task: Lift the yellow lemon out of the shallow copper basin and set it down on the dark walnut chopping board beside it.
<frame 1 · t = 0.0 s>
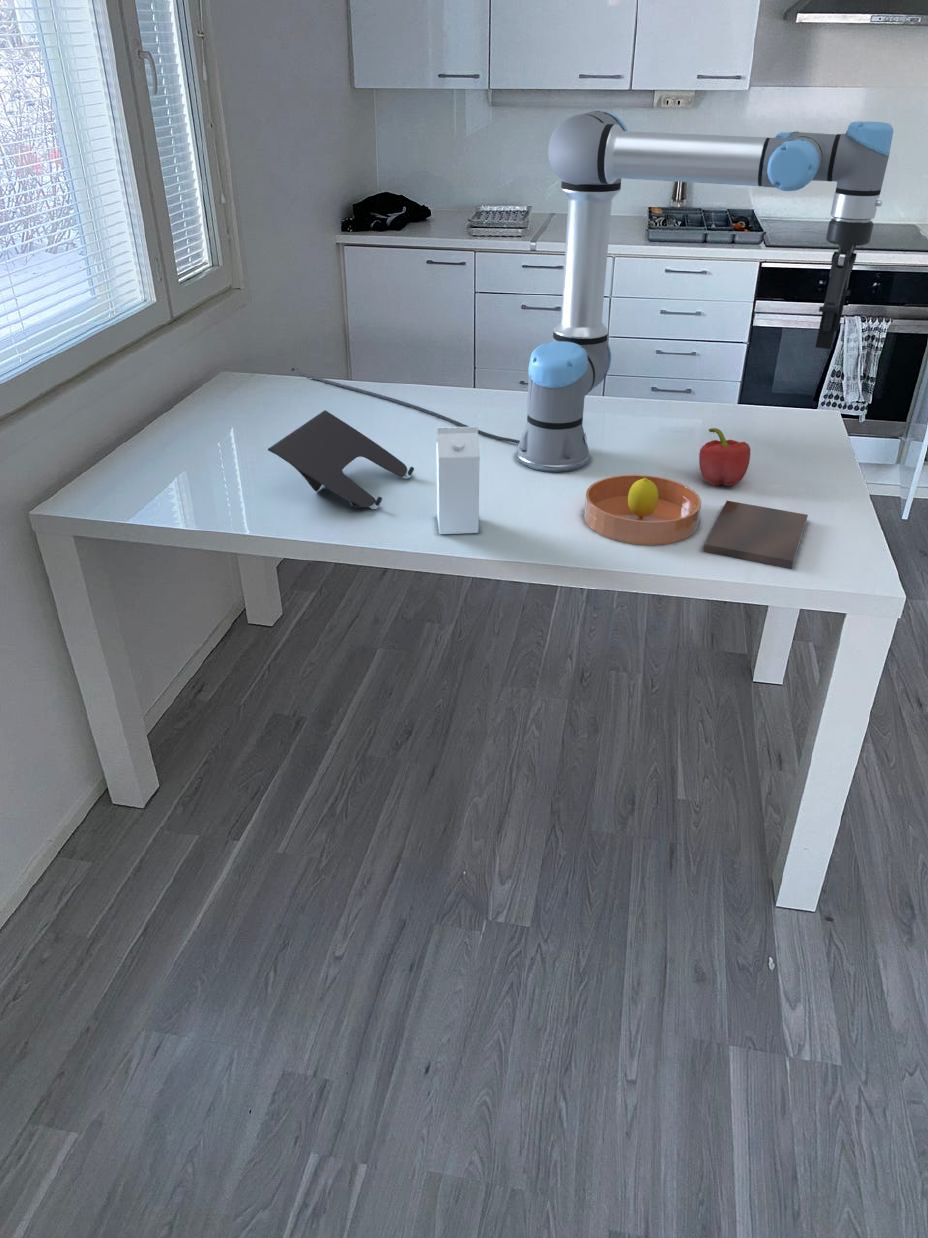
hand: (827, 338, 179), 28 cm above the table, tool pointing down, fingers open, 13 cm apart
milk carton: (457, 526, 173), on the table
board: (756, 536, 170), on the table
lemon: (640, 518, 175), resting on basin
vegetable: (719, 482, 191), on the table
basin: (640, 519, 175), on the table
laptop tray: (349, 487, 187), on the table
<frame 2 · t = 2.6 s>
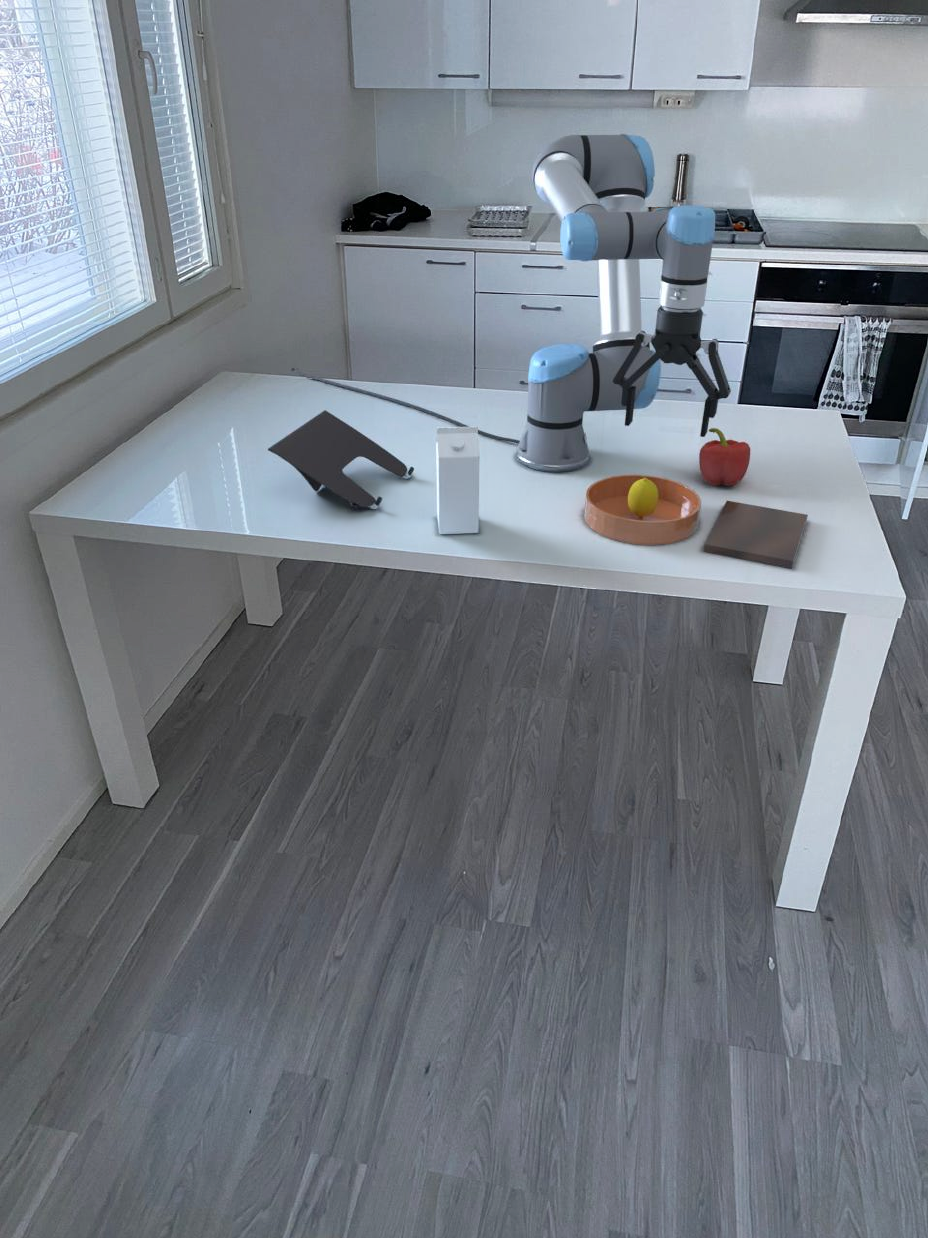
hand: (665, 428, 168), 17 cm above the table, tool pointing down, fingers open, 13 cm apart
nothing on the table moved.
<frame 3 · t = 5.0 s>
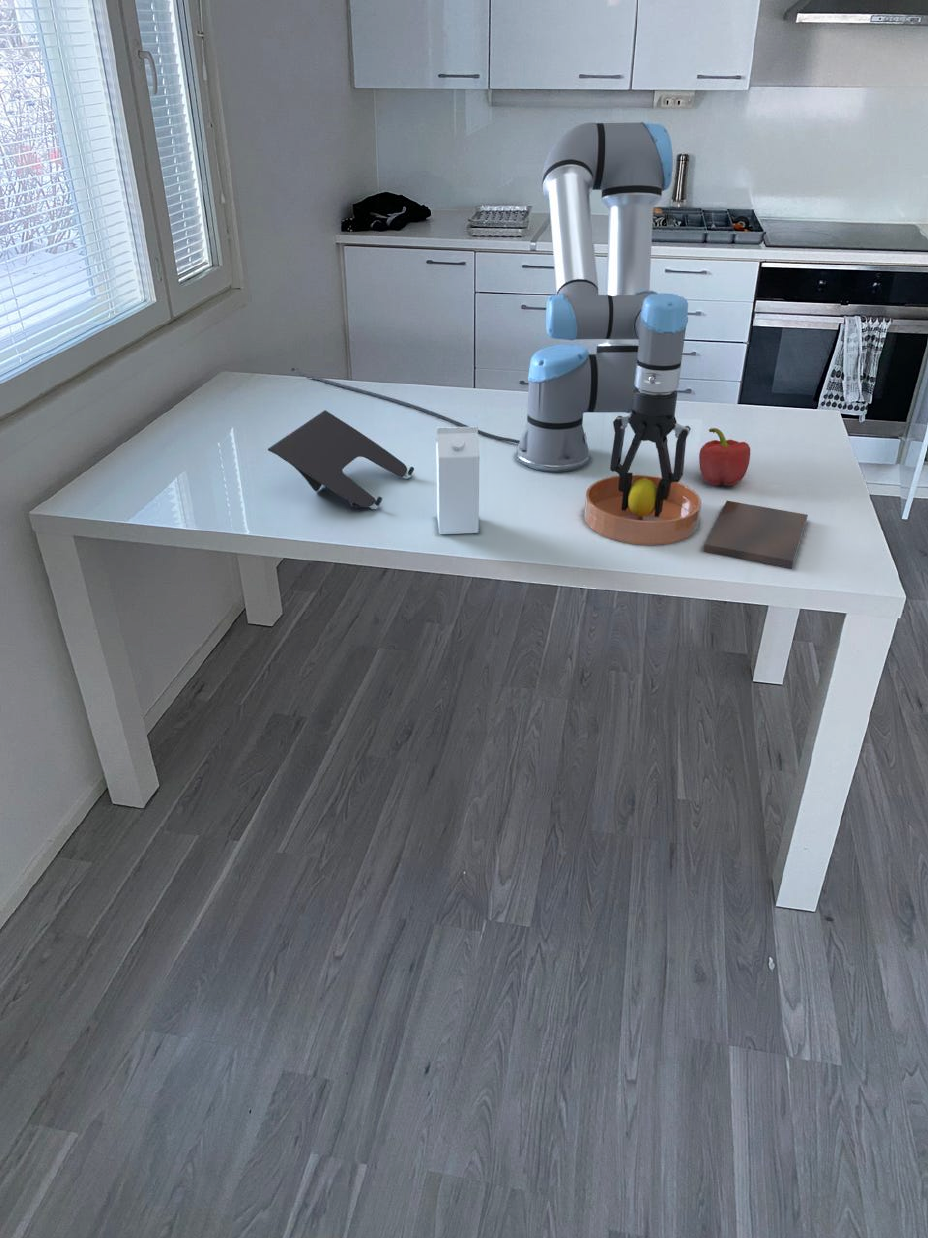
hand: (641, 510, 174), 2 cm above the table, tool pointing down, fingers closed on lemon, 6 cm apart
lemon: (640, 518, 175), resting on basin, touching gripper
everything else where it was.
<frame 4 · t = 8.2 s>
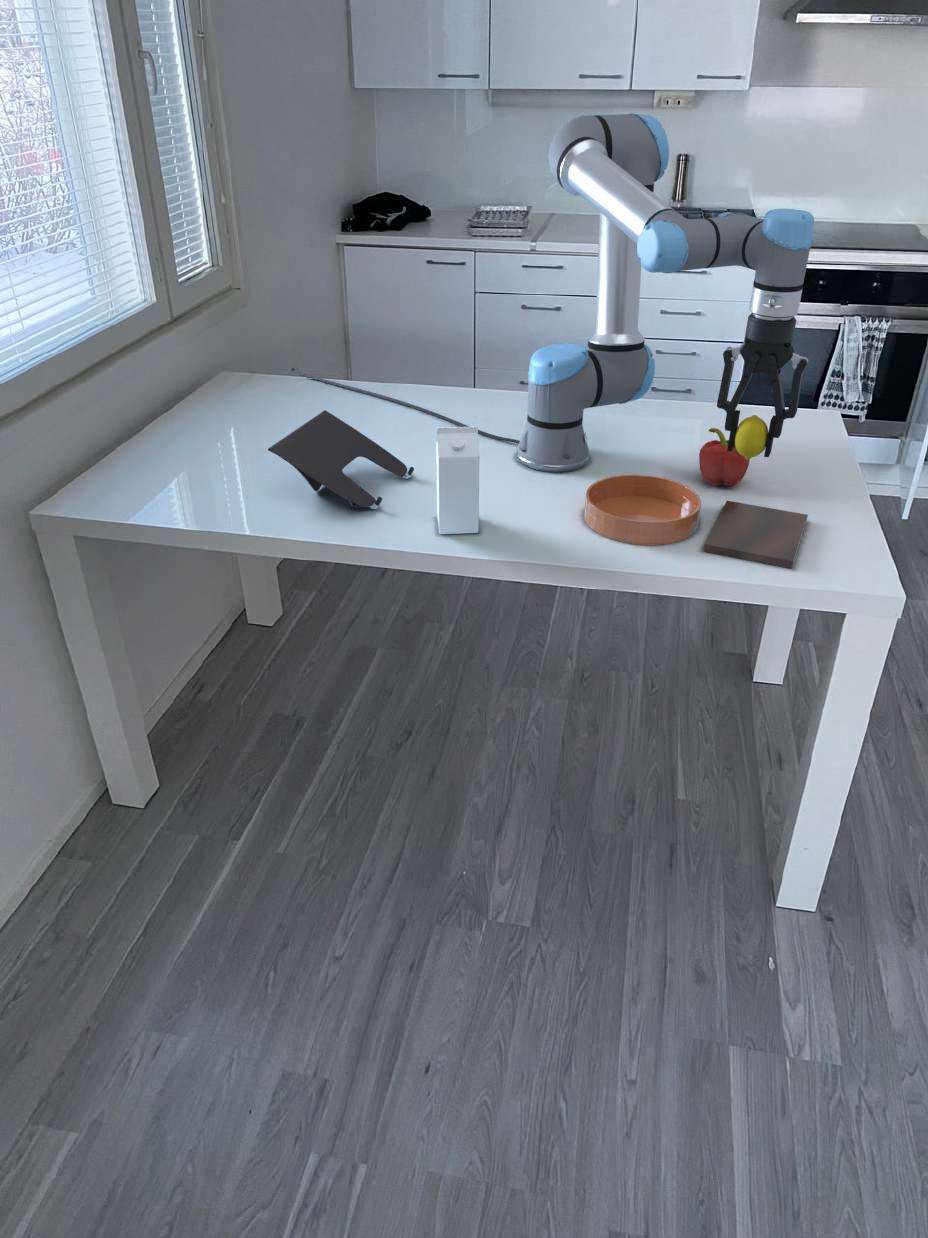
hand: (749, 451, 162), 16 cm above the table, tool pointing down, fingers closed on lemon, 6 cm apart
lemon: (747, 460, 163), point 14 cm above the table, touching gripper
everything else where it was.
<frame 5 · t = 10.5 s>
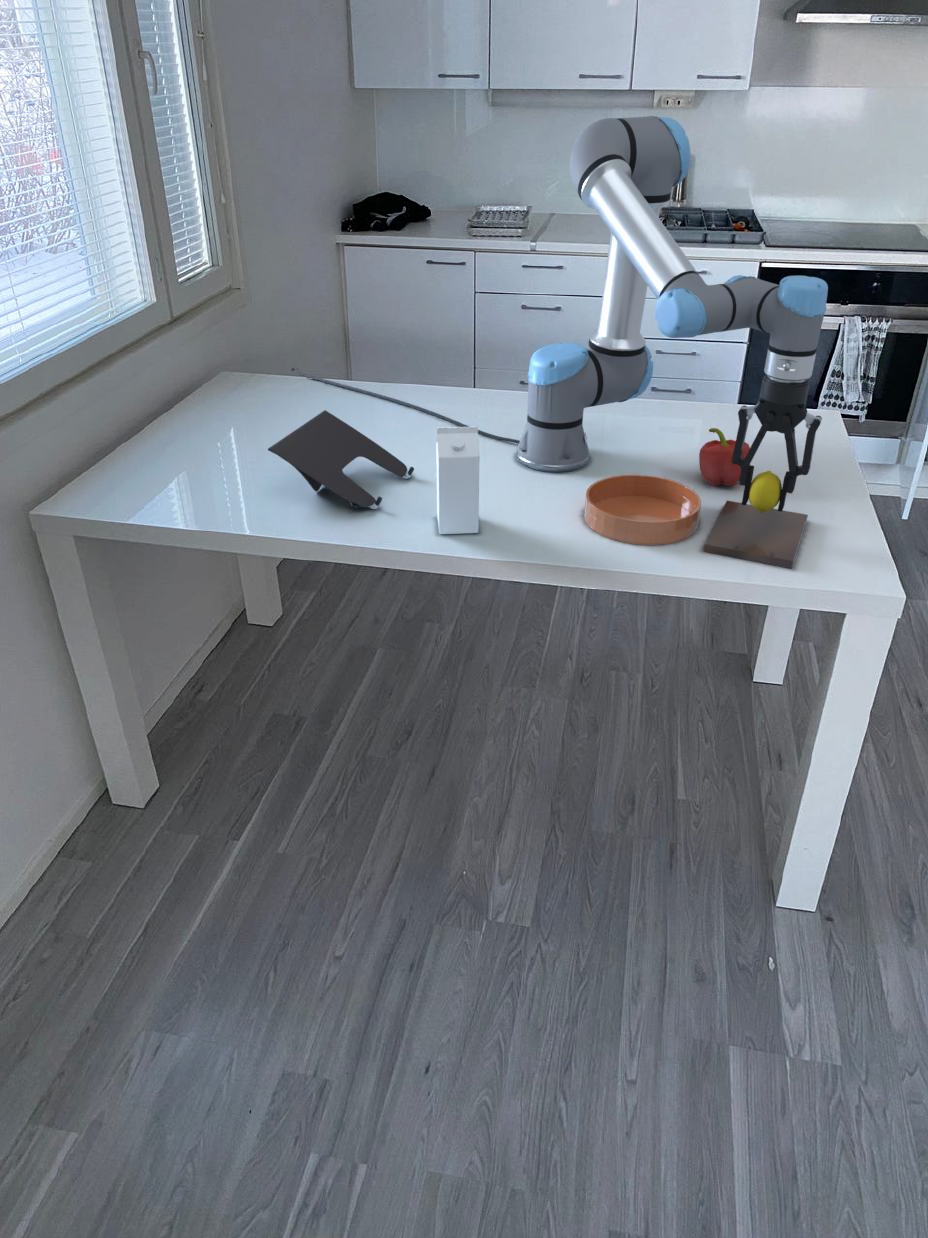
hand: (762, 505, 166), 6 cm above the table, tool pointing down, fingers closed on lemon, 6 cm apart
lemon: (761, 513, 167), point 5 cm above the table, touching gripper
everything else where it was.
when the fingers open (3 cm above the table, at t = 11.7 s): lemon stays where it is, resting on board.
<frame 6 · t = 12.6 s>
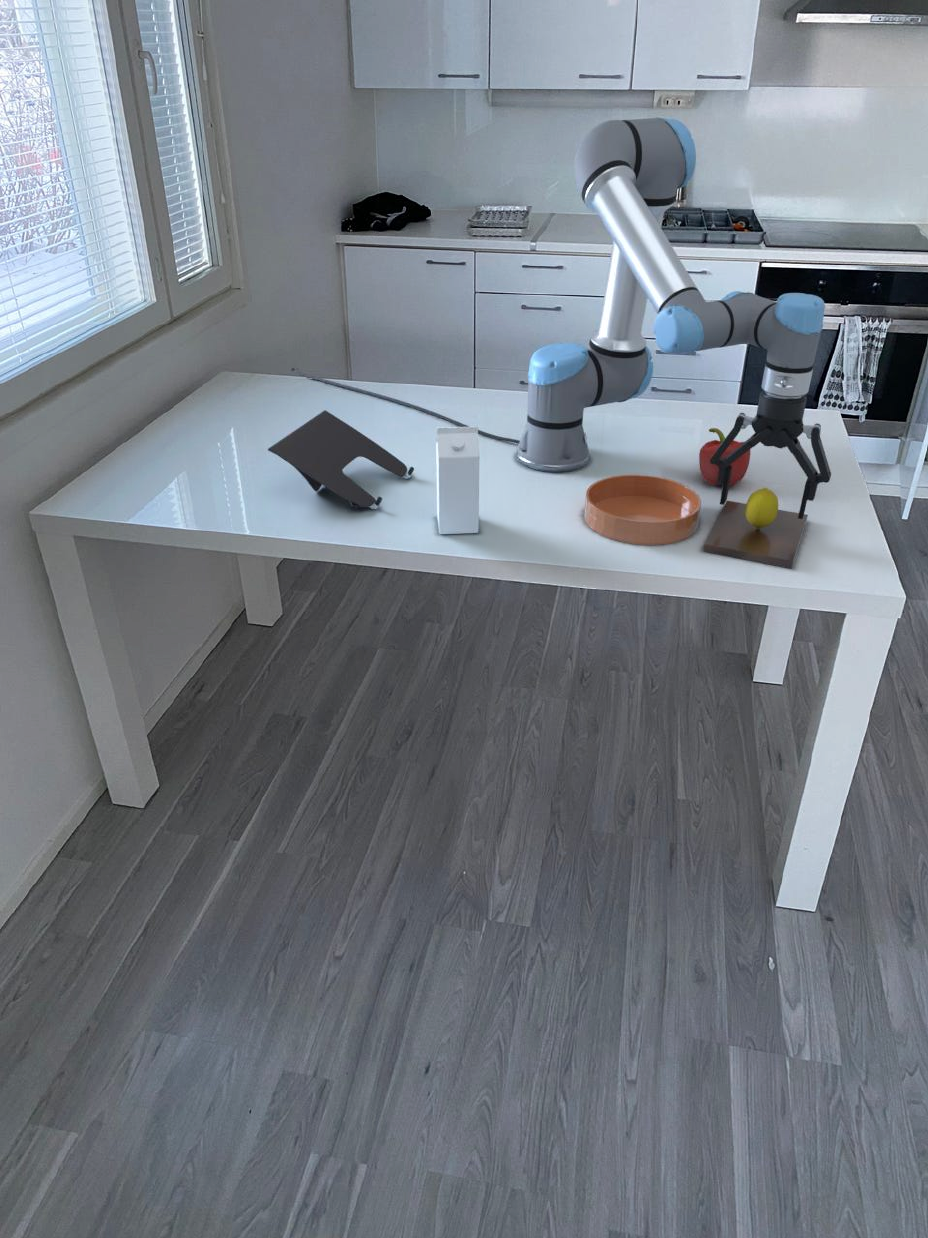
hand: (761, 508, 167), 5 cm above the table, tool pointing down, fingers open, 13 cm apart
lemon: (757, 529, 169), point 1 cm above the table, touching board
everything else where it was.
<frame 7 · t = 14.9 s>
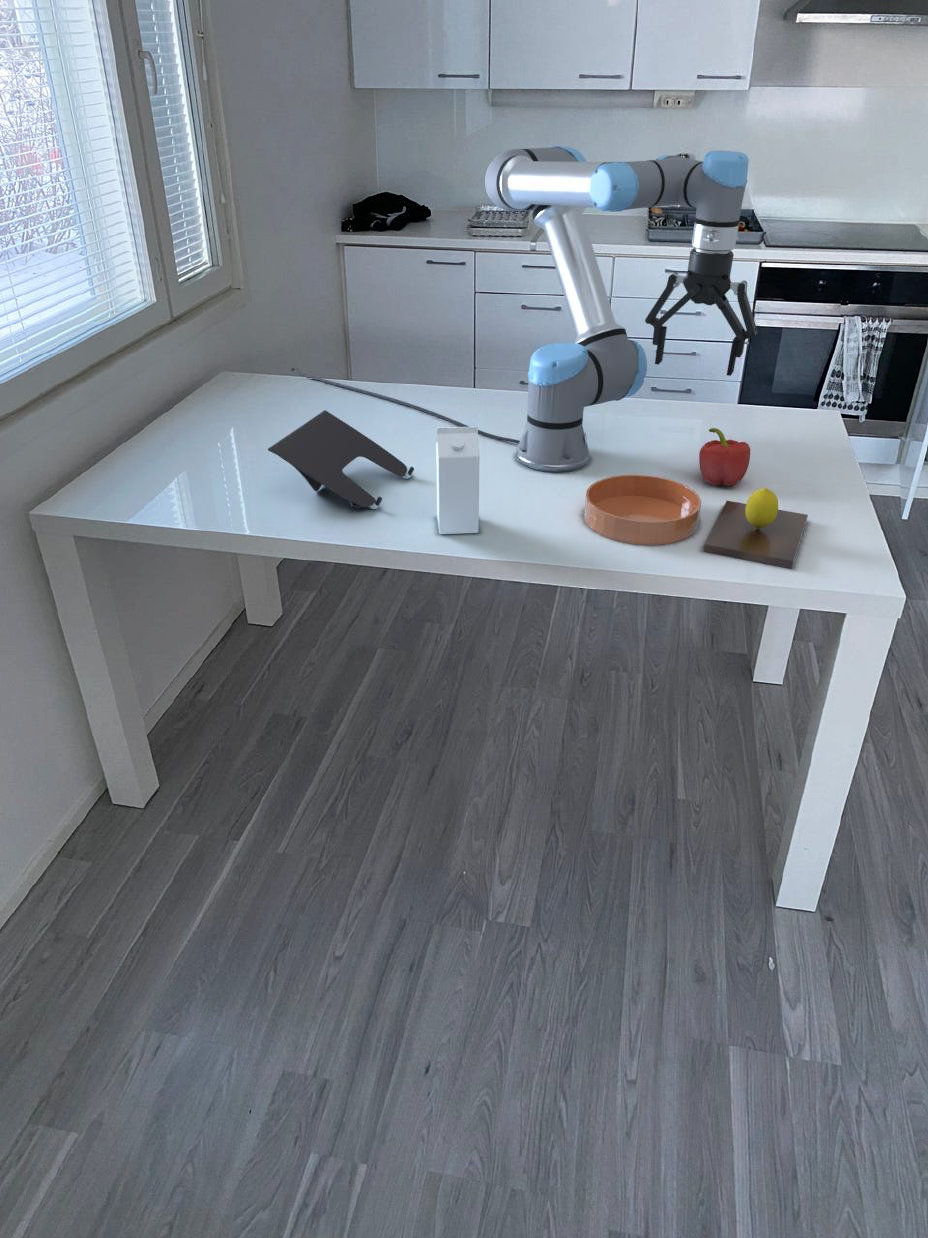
hand: (693, 367, 176), 24 cm above the table, tool pointing down, fingers open, 13 cm apart
nothing on the table moved.
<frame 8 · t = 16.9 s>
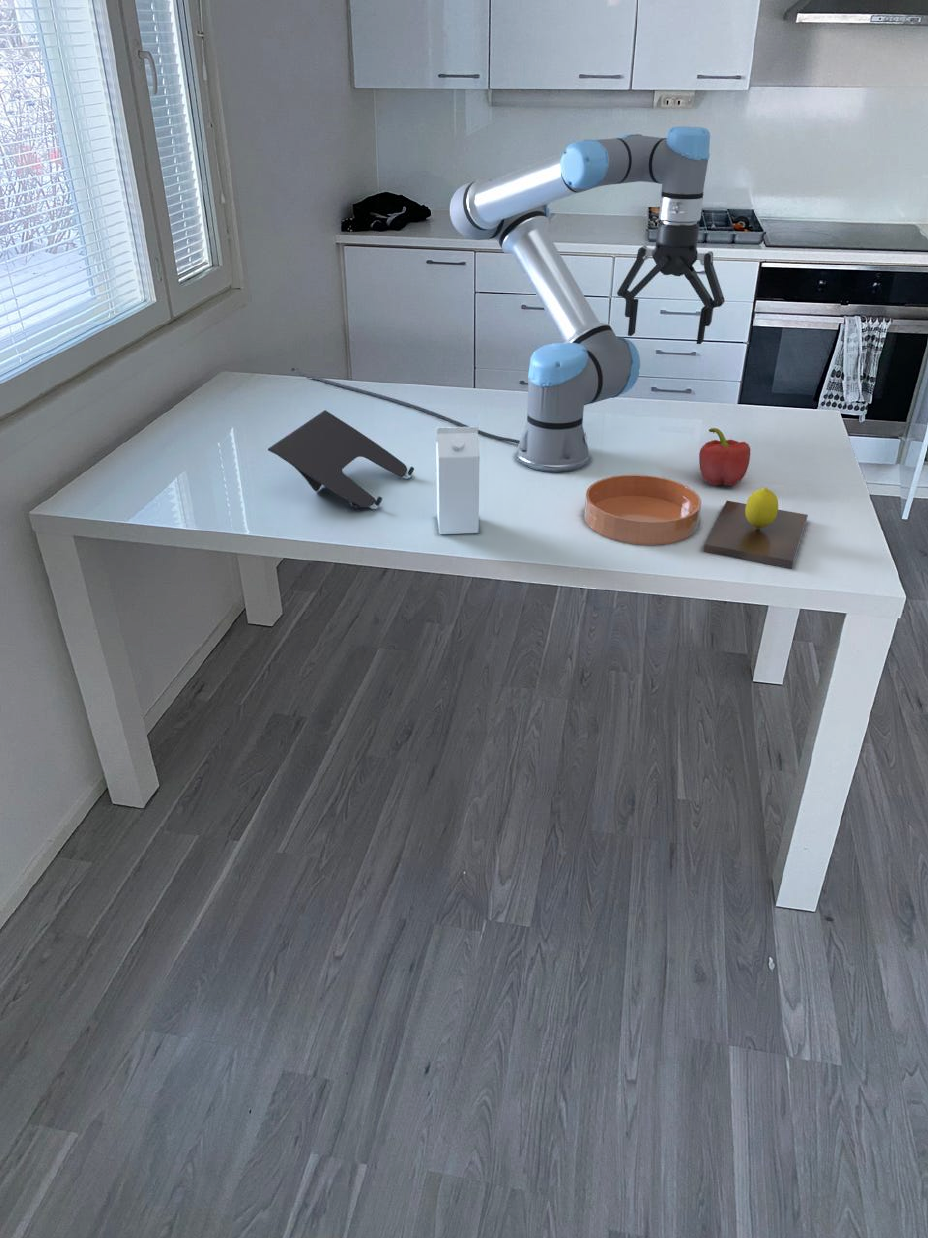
hand: (665, 338, 183), 27 cm above the table, tool pointing down, fingers open, 13 cm apart
nothing on the table moved.
at the end: lemon inside the target area on the board (0.1 cm from its centre), point 1.3 cm above the board's base; lemon touching board; the gripper is holding nothing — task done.
